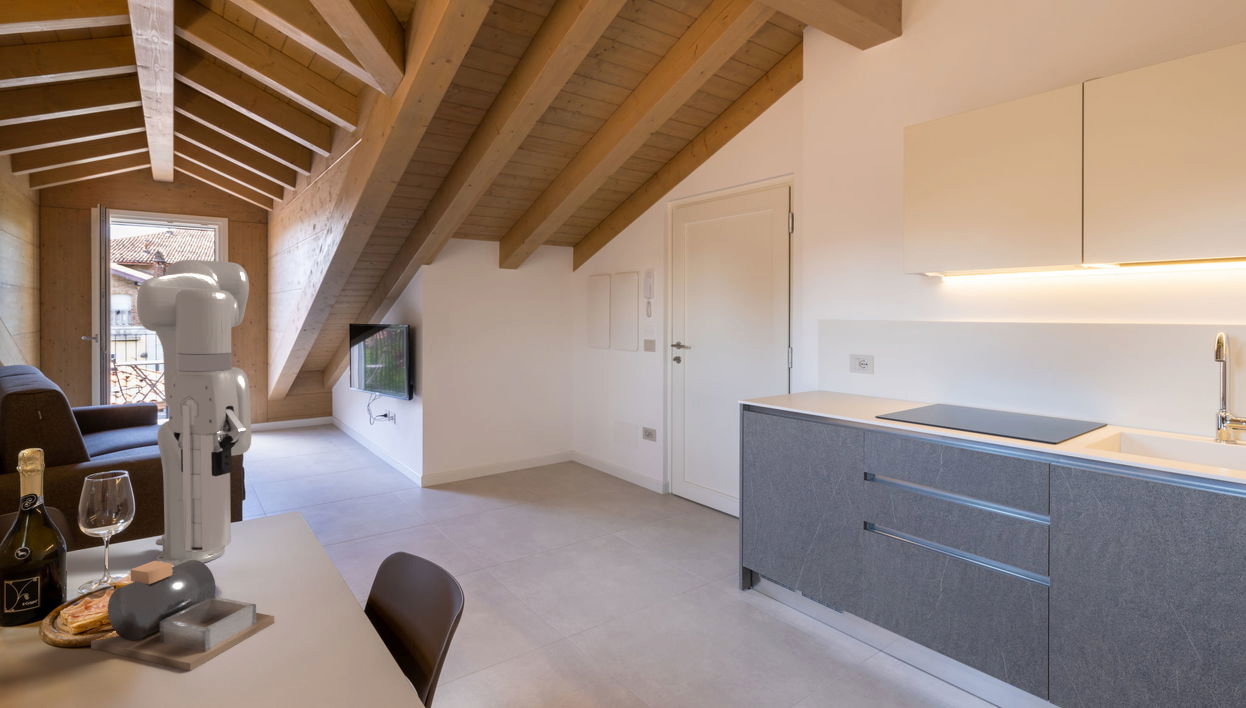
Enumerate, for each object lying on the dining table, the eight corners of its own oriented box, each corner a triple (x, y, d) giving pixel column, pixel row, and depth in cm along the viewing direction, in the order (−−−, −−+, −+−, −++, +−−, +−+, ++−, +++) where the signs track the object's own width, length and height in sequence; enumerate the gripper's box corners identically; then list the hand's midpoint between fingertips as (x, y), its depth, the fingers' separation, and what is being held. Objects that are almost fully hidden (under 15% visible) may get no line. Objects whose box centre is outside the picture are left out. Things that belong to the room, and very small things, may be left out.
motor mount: (91, 648, 102) (89, 576, 101) (184, 605, 117) (182, 542, 117) (190, 670, 96) (188, 594, 96) (274, 622, 112) (273, 556, 111)
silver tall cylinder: (239, 542, 106) (237, 396, 104) (199, 555, 100) (197, 400, 99) (215, 535, 109) (213, 393, 107) (175, 547, 103) (172, 397, 101)
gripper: (142, 363, 101) (145, 473, 102) (225, 368, 97) (227, 483, 98) (186, 360, 108) (188, 463, 110) (265, 365, 104) (266, 472, 105)
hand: (206, 471), depth 104 cm, fingers closed on silver tall cylinder, 5 cm apart
